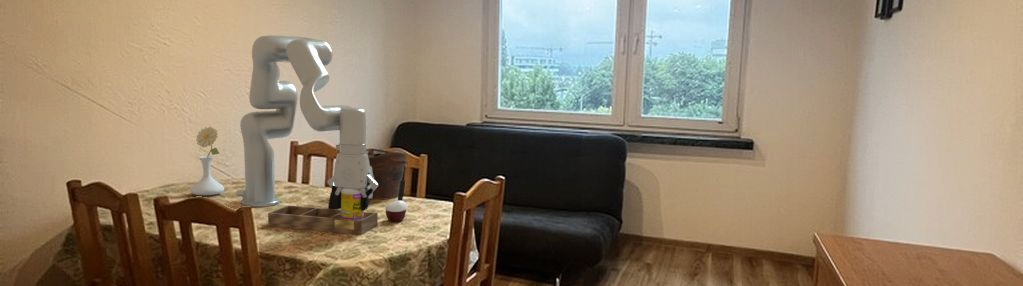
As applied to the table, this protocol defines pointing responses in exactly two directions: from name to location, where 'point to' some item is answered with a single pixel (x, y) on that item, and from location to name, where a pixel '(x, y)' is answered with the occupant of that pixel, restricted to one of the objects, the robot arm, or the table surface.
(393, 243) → the table surface
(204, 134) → the flower in vase
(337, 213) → the caddy
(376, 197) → the brown woven basket
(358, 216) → the supplement bottle
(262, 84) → the robot arm
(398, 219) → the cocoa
